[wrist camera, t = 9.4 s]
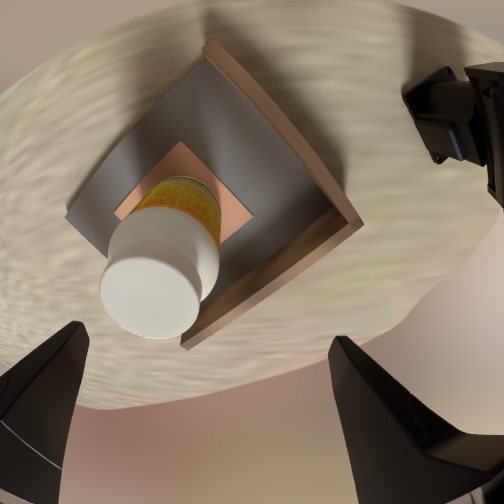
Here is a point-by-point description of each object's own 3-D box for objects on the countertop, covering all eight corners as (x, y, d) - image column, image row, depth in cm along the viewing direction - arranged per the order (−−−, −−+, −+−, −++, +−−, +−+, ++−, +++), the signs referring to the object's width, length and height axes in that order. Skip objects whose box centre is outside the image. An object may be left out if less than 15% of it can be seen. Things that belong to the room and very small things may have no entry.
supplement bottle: (209, 256, 20) (199, 363, 11) (138, 236, 18) (85, 331, 10) (233, 187, 17) (237, 264, 9) (154, 164, 16) (85, 221, 8)
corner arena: (216, 52, 14) (213, 38, 11) (344, 205, 19) (364, 224, 16) (68, 214, 18) (45, 233, 15) (191, 321, 23) (187, 350, 20)
